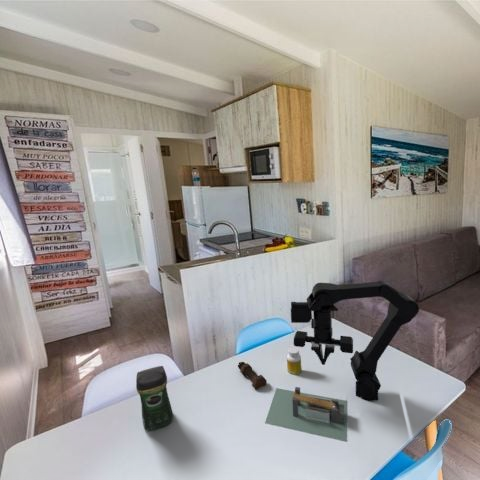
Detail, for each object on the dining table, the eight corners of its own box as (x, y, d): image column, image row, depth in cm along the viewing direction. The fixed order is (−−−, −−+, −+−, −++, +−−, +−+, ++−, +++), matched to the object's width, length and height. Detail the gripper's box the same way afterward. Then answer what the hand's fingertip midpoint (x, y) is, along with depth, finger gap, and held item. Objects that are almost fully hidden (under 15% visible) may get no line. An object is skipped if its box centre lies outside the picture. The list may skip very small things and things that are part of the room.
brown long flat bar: (336, 405, 92) (336, 402, 91) (336, 411, 89) (336, 409, 89) (293, 394, 96) (293, 391, 96) (292, 400, 94) (292, 397, 93)
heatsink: (330, 407, 95) (330, 398, 94) (329, 425, 88) (329, 415, 88) (308, 403, 97) (308, 394, 97) (305, 420, 91) (305, 410, 90)
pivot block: (344, 413, 92) (344, 401, 91) (344, 424, 88) (344, 412, 87) (332, 411, 94) (331, 399, 93) (331, 421, 89) (331, 409, 89)
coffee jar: (171, 407, 102) (164, 360, 98) (174, 425, 94) (167, 374, 90) (142, 416, 99) (134, 367, 95) (143, 435, 91) (134, 383, 87)
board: (347, 403, 97) (347, 400, 97) (346, 444, 83) (346, 441, 83) (276, 390, 106) (276, 388, 106) (265, 425, 91) (264, 423, 91)
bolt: (243, 372, 120) (263, 392, 107) (233, 370, 118) (252, 391, 105) (248, 358, 121) (268, 377, 108) (238, 356, 118) (258, 375, 105)
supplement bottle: (297, 378, 111) (296, 355, 109) (285, 374, 114) (283, 351, 112) (303, 370, 115) (302, 348, 113) (291, 366, 118) (290, 344, 117)
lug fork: (300, 403, 98) (300, 387, 97) (297, 417, 92) (297, 400, 91) (296, 402, 98) (295, 386, 97) (293, 416, 93) (292, 399, 92)
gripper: (352, 313, 100) (352, 354, 103) (297, 308, 106) (299, 347, 110) (353, 329, 90) (353, 374, 93) (292, 323, 96) (294, 365, 99)
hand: (323, 364), depth 99 cm, fingers closed
